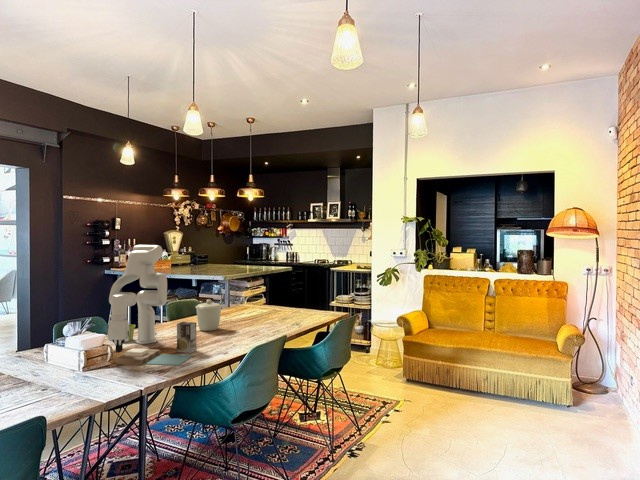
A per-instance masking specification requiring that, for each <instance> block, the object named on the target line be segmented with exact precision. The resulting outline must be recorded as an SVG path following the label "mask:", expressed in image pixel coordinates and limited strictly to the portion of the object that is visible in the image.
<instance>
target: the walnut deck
mask: <svg viewBox="0 0 640 480" xmlns="http://www.w3.org/2000/svg"><path fill="white" fill-rule="evenodd" d="M147 349H148V353H147V354H145V355H143V356H125V354H123V355H121V356H118V357H117V358H115V365H134V366H135V365H136V366H142V365H145V363H147V362H148V361H150V360H152V359H153V358H155V357H157V356H158V355H160V354H161V349H149V348H147Z"/></svg>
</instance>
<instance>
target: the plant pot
mask: <svg viewBox="0 0 640 480" xmlns="http://www.w3.org/2000/svg"><path fill="white" fill-rule="evenodd" d="M135 328H136V324H129V329H130V336H129V341H132V340H133V339H134V332H135Z"/></svg>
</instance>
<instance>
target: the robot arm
mask: <svg viewBox="0 0 640 480" xmlns="http://www.w3.org/2000/svg"><path fill="white" fill-rule="evenodd" d="M132 247H133V248H132V251H131V252H130V253H129V254H128V257H127V262H126V266H125V269H124V272H123V274H122V275H121V276H120V277H119V278H117V280H115V282H113V284H112V286H111V288H110V292H109V297H108V302H109V304H110V305H111V314H110V315H109V318H110V320H109V323H108V328H107V329H108V330H107V338H108V340H109V341H110V342H112V343H114V345H115V353H116V354H117V353H118V354H119V353H122V352H123V349H124V348H123V347H124V346H123V344H124V343H125V342H130V340H129V336H130V329H129V325H130V322H129V320H128V307H133V306H135V305H136V304H137V311H138V313H137V317H138V318H137V320H138V321H137V323H138V324H137V328H138V329H137V330H138V331H137V333H138V334H137V339H135V343H136V344H140V345H148V344H154V343H157V342H158V338H157V337H155V336H157V332H156V328H155V327H156V325H155V324H156V323H155V321H156V314H155V313H156V312H155V309H154V308H153V307H163V306H165V305H166V303H167V300H168V279H167V278H168V277H167V275H166V274H165V273H163V272H155V267H156V266H155V264H156V263H157V262H159V260H161V258H162V256H163V252H164V251H163V248H162V246H161V245H158V244H136V245H135V246H132ZM136 280H139V286H140V288H142V289H144V290H140V291H138V292H137V294H136V293H134V292H132V291H131V292H128V291H126V292H125V291H121V289H122V288H123V287H124V286H125V285H127V284H131V283H133V282H134V281H136ZM147 289H150V290H147ZM151 289H157V290H151Z"/></svg>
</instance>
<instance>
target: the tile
mask: <svg viewBox="0 0 640 480" xmlns="http://www.w3.org/2000/svg"><path fill="white" fill-rule="evenodd" d="M148 349H149V348H131V349H128V350H126V351H125V353H124V355H125V356H143V355H145V354H147V353H148Z"/></svg>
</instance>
